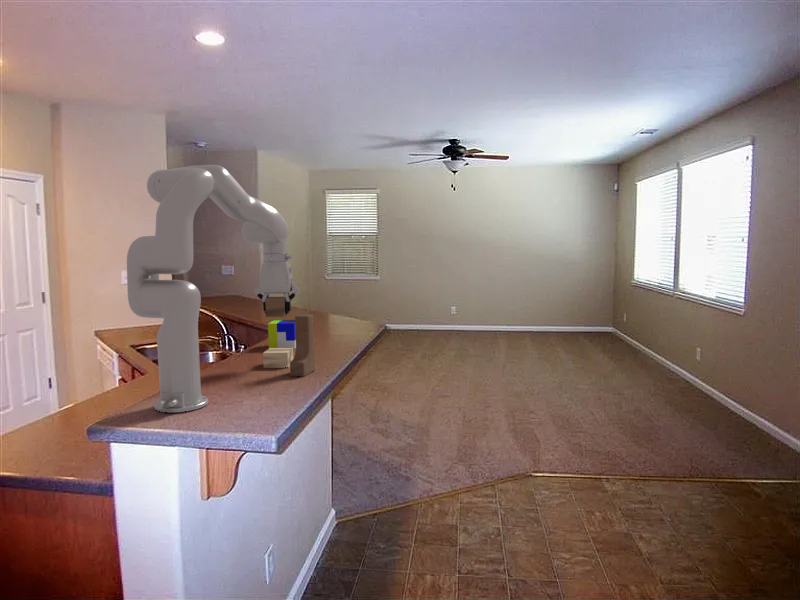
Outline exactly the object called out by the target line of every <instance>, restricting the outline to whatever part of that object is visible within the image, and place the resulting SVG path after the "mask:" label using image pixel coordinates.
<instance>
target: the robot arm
mask: <svg viewBox="0 0 800 600" xmlns="http://www.w3.org/2000/svg"><path fill="white" fill-rule="evenodd" d="M146 188H147V189H146V191H147V192H148V194H149V197H151V199H152V200H154V201H155V202H157V203H159V205H158V207H157V210H156V213H155V233H154V235H145V236H140V237H137V238H136V239H135V240H133V241H132V242H131V244H130V245H129V248H128V250H127V255H126V280H127V281H126V282H127V283H126V284H127V286H126V287H127V299H128V301H127V302H128V305H129V308H130V309H131V312H132V313H134V314H135V315H136V316H138V317H141V318H150V319H152V318H153V319H163V320H162V322H161V323H162V324H161V325H160V327H159V329H158V331H157V337H156V347H157V362H158V383H159V396H160V397H159V400H156V401H155V403H154V404H153V409H154V411H156V410H157V411H156V412H159V411H160V412H159V413H165V412H167V414H168V413H169V414H171V413H172V414H174V413H185V411H186V412H191V411H195V410H198V409H202V408H203V407H205V406H206V405H207V404H208V403H209V399H208V397H207V396H205V395H202V386H201V383H202V382H201V367H200V348H199V347H200V345H199V344H200V343H199V316H200V310H201V301H202V299H201V298H202V297H201V291H200V290H199V288H198V286H196V284H194V283H192V282H190V281H187V280H181V279H160V275H183V274H185V273H187V272H189V271H190V270H191V269H192V268H193V264H194V218H195V214H196V212H197V210H198V209H199V207H200V206H201V205H202V203H203V202H204V201H206V200H207V199H208V198H210V199H211V201H213V202H214V204H215V205H217V207H219V208H220V210H221V211H222V212H223V213H224V214H225V215H226V216H228V217H229V218H232V219H234V220H237V221H240V222H241V221H242V222H244V223H243V225H242V226H241V235H242V237H243V239H244V241H246V242H247V243H250V244H255V245H256V244H258V245H259V244H262V254H263V255H262V256H263V262H262V263H261V265H260V271H259V272H260V274H259V275H260V276H259V283H258V284H257V285H256V286H255V287H254V288H253V289H252V293H254V294H255V296H257V297H258V298H259V299H260V300H261V302H262V304H263V305H262V308H263V312H264V314H265V315H266V304H265V298H268V297H270V295H271V294H283V296H285V299H286V302H285V314H288V313H289V314H290V312H291V310H292V307H291V306H292V304H291V301H292V300H293V299H294V298H295V297H296V295H298V294H299V293H300V292H301V289H300V288H299V287H298V286H297V284H295V283H294V281H293V272H292V267H291V262H288V261H289V260H292V255H291V254H288V250H287V248H288V247H287V246H288V245H287V239H288V236H289V233H290V232H289V226H288V224H287V222H286V220H285V218H284V217H283V216H282V215H281V214H280V213H279V211H278V210H277V209H276V208H274V207H273V206H272V205H270V204H268V203H266V202H264V201H261V200H260V199H258V198H257V197H254V196H251V195H249V194H248V193H247V192H246V190H245V189H244V188H243V187H242V186H241V184H240V183H238V181H237V180H236V178H234V176H233V175H232V174H231V173H230V172H229V170H227V169H226V168H225V167H223V166H222V165H218V164H202V165H201V164H200V165H199V164H198V165H188V166H187V165H186V166H181V167H175V168H168V169H158V170H156V171H153V172H152V173H151V174H150V175H149V176H148V178H147V182H146ZM290 292H292V293H291V294H290ZM289 314H288V315H289Z"/></svg>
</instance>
